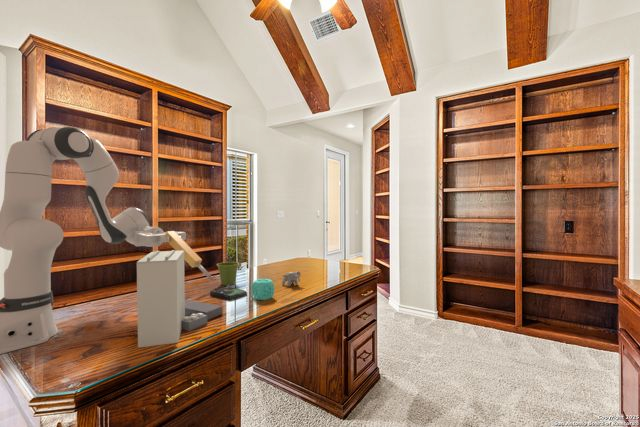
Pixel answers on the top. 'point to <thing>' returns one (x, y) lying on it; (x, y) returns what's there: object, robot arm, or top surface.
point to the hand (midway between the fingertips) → (174, 238)
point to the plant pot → (228, 272)
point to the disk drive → (228, 293)
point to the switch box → (194, 321)
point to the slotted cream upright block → (160, 297)
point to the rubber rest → (202, 309)
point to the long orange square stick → (186, 252)
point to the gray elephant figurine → (291, 278)
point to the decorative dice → (263, 289)
